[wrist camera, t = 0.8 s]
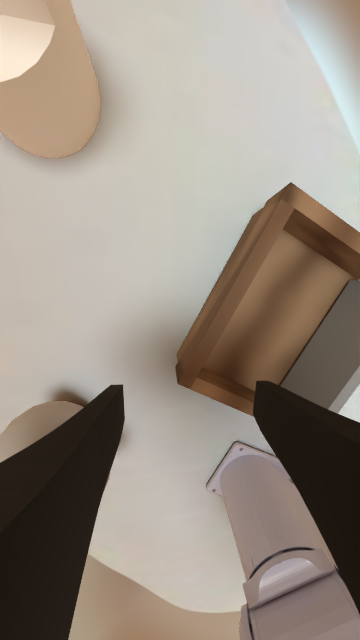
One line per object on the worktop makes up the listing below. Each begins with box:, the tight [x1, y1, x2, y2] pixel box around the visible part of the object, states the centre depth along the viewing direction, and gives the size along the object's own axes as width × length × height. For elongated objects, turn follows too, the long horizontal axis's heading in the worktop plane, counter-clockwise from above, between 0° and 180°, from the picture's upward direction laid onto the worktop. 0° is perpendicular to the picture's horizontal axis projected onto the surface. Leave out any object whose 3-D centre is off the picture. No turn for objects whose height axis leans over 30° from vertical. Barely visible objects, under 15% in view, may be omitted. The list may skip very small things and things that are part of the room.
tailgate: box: [281, 280, 360, 414], centre depth 16 cm, size 2×14×5 cm, turn 152°
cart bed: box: [176, 183, 360, 416], centre depth 17 cm, size 12×19×5 cm, turn 152°
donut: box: [0, 401, 110, 492], centre depth 16 cm, size 10×4×10 cm, turn 41°
